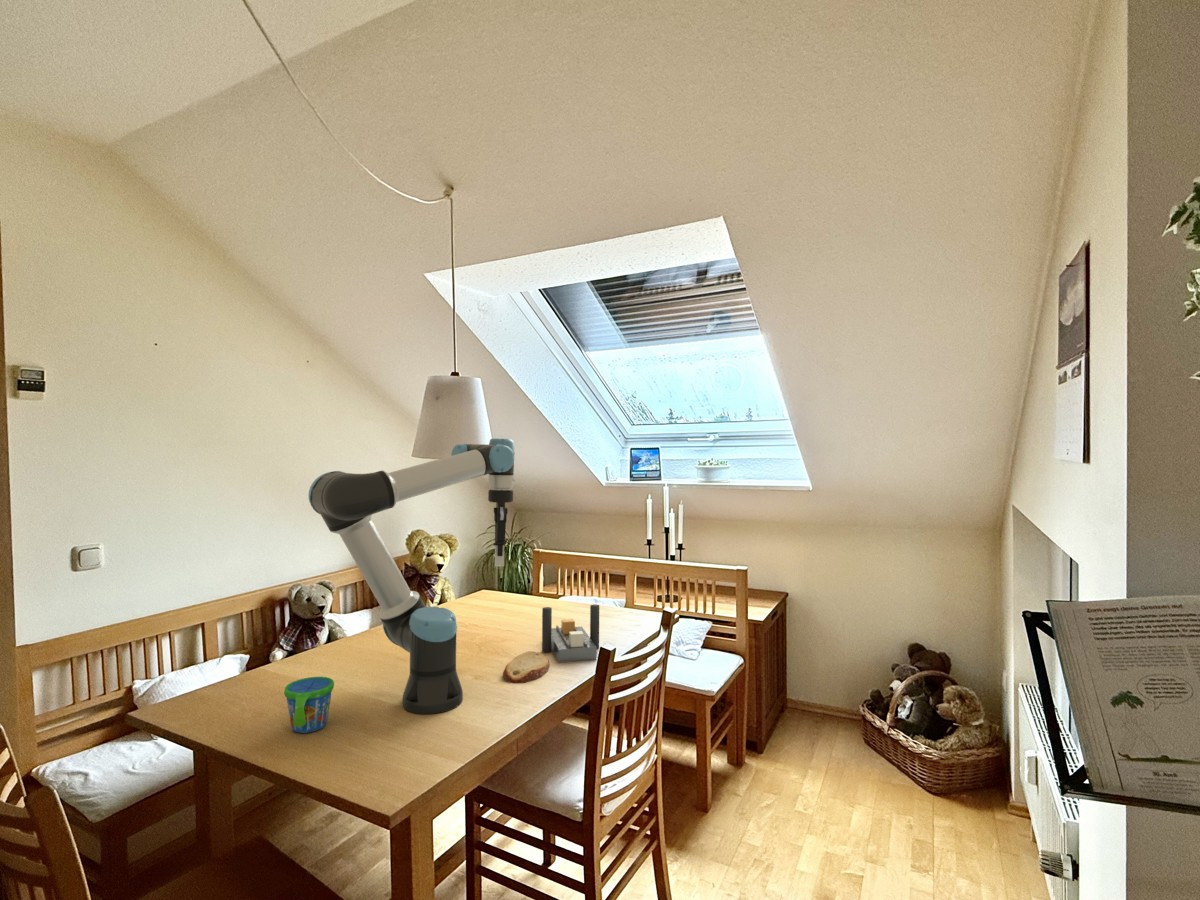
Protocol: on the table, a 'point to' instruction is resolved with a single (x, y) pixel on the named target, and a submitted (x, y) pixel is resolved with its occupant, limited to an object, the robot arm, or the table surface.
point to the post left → (546, 629)
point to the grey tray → (572, 653)
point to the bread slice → (526, 667)
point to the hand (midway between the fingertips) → (499, 566)
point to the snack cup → (309, 703)
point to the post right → (594, 624)
